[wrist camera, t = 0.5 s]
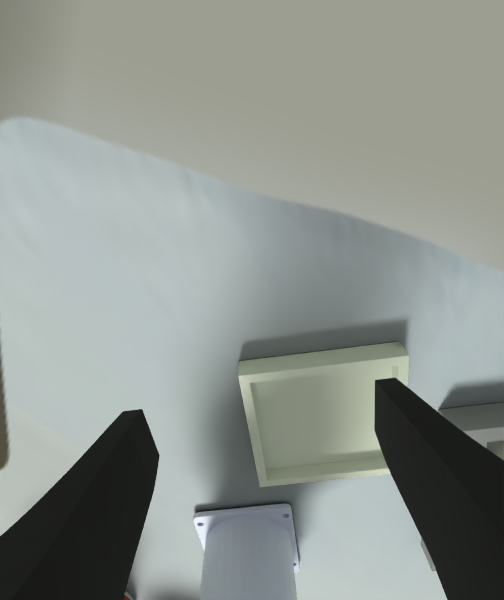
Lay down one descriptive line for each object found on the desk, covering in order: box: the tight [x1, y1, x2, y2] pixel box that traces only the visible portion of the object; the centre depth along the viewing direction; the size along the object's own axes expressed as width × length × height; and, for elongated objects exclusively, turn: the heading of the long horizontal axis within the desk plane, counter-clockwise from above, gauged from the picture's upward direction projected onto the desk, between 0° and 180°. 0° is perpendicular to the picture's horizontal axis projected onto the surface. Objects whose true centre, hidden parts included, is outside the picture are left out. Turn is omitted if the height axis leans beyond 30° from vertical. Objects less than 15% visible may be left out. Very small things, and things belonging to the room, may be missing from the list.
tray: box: [238, 342, 410, 487], centre depth 22 cm, size 10×10×2 cm
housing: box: [421, 402, 504, 571], centre depth 25 cm, size 16×10×2 cm, turn 8°
